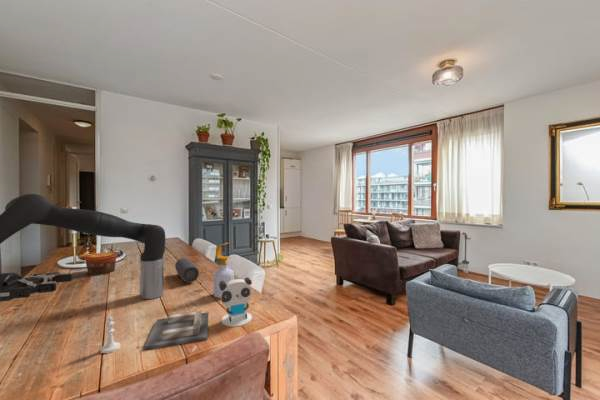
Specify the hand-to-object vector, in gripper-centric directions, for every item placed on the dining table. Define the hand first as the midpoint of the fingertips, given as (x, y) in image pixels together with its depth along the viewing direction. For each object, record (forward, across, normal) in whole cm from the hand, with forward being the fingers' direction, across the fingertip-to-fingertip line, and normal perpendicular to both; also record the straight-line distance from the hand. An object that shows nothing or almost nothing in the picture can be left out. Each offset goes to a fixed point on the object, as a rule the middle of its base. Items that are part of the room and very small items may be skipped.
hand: (64, 281), depth 75 cm
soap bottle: (+46, +33, +22) cm, 61 cm away
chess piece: (+11, 0, +22) cm, 25 cm away
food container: (-24, +93, +22) cm, 98 cm away
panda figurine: (+49, +7, +22) cm, 55 cm away
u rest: (+30, +5, +22) cm, 38 cm away
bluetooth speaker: (+27, +64, +22) cm, 73 cm away
